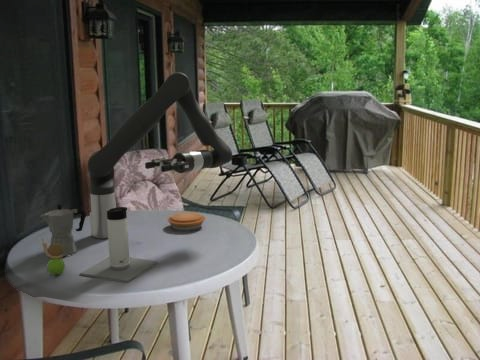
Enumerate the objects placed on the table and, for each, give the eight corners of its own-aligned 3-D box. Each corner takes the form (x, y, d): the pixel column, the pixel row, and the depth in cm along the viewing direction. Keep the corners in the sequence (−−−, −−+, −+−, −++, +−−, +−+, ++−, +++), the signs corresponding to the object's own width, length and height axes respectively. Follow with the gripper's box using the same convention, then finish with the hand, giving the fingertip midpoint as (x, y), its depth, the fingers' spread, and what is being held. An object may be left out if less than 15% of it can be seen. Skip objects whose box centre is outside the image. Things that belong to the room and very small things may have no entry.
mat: (79, 274, 172) (79, 273, 172) (112, 256, 189) (112, 255, 189) (128, 282, 166) (128, 280, 166) (157, 262, 182) (157, 261, 182)
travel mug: (126, 270, 174) (122, 210, 169) (107, 269, 175) (102, 209, 171) (133, 264, 180) (130, 205, 175) (115, 263, 181) (111, 204, 177)
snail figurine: (47, 271, 176) (43, 235, 173) (67, 270, 176) (64, 235, 174) (42, 277, 170) (39, 241, 168) (63, 276, 171) (60, 240, 169)
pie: (162, 231, 217) (161, 219, 216) (175, 221, 232) (174, 209, 231) (199, 233, 214) (198, 221, 213) (209, 222, 229) (209, 211, 228)
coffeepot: (45, 260, 186) (40, 209, 182) (42, 252, 194) (38, 203, 191) (91, 253, 192) (87, 204, 189) (86, 245, 201) (83, 198, 197)
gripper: (175, 149, 202) (140, 154, 191) (201, 153, 193) (166, 158, 181) (175, 169, 204) (140, 175, 192) (201, 174, 195) (167, 180, 183)
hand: (153, 167), depth 187 cm, fingers open, 8 cm apart
